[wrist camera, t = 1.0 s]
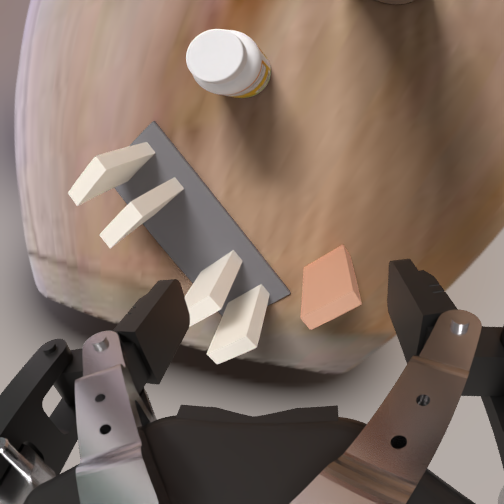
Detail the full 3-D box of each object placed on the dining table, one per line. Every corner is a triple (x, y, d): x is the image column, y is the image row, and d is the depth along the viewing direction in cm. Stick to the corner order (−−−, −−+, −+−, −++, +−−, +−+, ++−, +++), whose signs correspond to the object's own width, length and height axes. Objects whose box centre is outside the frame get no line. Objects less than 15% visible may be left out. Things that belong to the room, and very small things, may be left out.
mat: (106, 173, 32) (104, 174, 32) (154, 121, 29) (153, 121, 28) (231, 322, 38) (230, 324, 38) (290, 291, 35) (290, 293, 34)
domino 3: (200, 271, 35) (171, 318, 27) (233, 249, 33) (209, 295, 25) (209, 281, 36) (182, 330, 28) (242, 261, 34) (221, 309, 26)
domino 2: (145, 204, 33) (99, 234, 25) (175, 177, 31) (130, 201, 23) (154, 215, 33) (110, 248, 25) (184, 188, 31) (142, 216, 23)
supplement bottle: (210, 55, 25) (169, 34, 16) (264, 41, 24) (244, 10, 15) (222, 104, 27) (184, 101, 18) (276, 92, 26) (262, 81, 17)
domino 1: (119, 171, 31) (67, 192, 23) (147, 141, 29) (95, 155, 21) (127, 181, 32) (77, 206, 24) (155, 152, 30) (106, 169, 22)
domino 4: (228, 302, 36) (206, 354, 28) (261, 283, 34) (246, 336, 26) (236, 311, 37) (217, 364, 29) (269, 293, 35) (257, 347, 27)
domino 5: (303, 267, 33) (300, 317, 25) (343, 244, 31) (352, 290, 23) (311, 278, 33) (310, 330, 25) (350, 255, 32) (361, 304, 24)
